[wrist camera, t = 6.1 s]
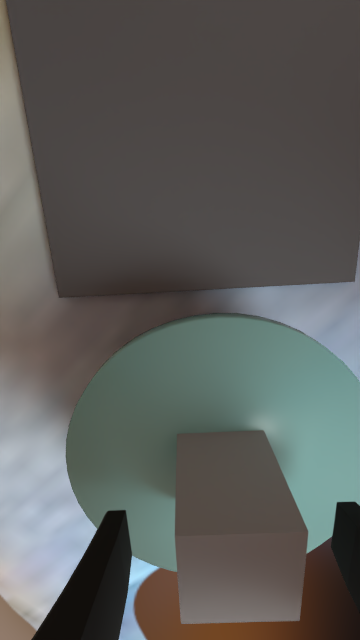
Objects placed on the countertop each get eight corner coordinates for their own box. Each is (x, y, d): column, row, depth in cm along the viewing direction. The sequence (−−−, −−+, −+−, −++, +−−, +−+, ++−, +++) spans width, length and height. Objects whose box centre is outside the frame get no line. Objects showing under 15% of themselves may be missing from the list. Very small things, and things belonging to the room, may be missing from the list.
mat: (391, -92, 11) (400, -107, 10) (349, 280, 15) (354, 281, 15) (0, -60, 11) (-8, -73, 11) (62, 295, 15) (59, 297, 15)
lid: (387, 305, 10) (554, 354, 6) (347, 553, 14) (430, 709, 9) (48, 321, 11) (-55, 382, 6) (94, 561, 14) (52, 717, 9)
